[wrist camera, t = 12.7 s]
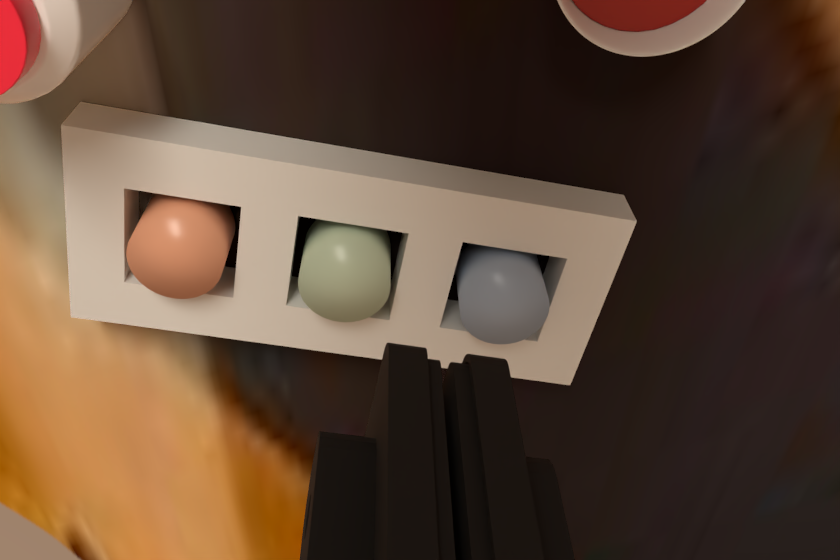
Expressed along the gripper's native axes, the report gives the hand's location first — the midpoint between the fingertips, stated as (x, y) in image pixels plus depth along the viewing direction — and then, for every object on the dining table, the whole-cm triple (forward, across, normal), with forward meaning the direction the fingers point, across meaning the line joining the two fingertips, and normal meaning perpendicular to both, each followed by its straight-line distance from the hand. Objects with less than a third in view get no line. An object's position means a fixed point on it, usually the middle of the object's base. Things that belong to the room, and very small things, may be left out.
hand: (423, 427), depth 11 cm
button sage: (+32, 0, +17) cm, 36 cm away
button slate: (+32, -9, +17) cm, 37 cm away
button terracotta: (+32, +9, +17) cm, 37 cm away
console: (+32, 0, +17) cm, 36 cm away
